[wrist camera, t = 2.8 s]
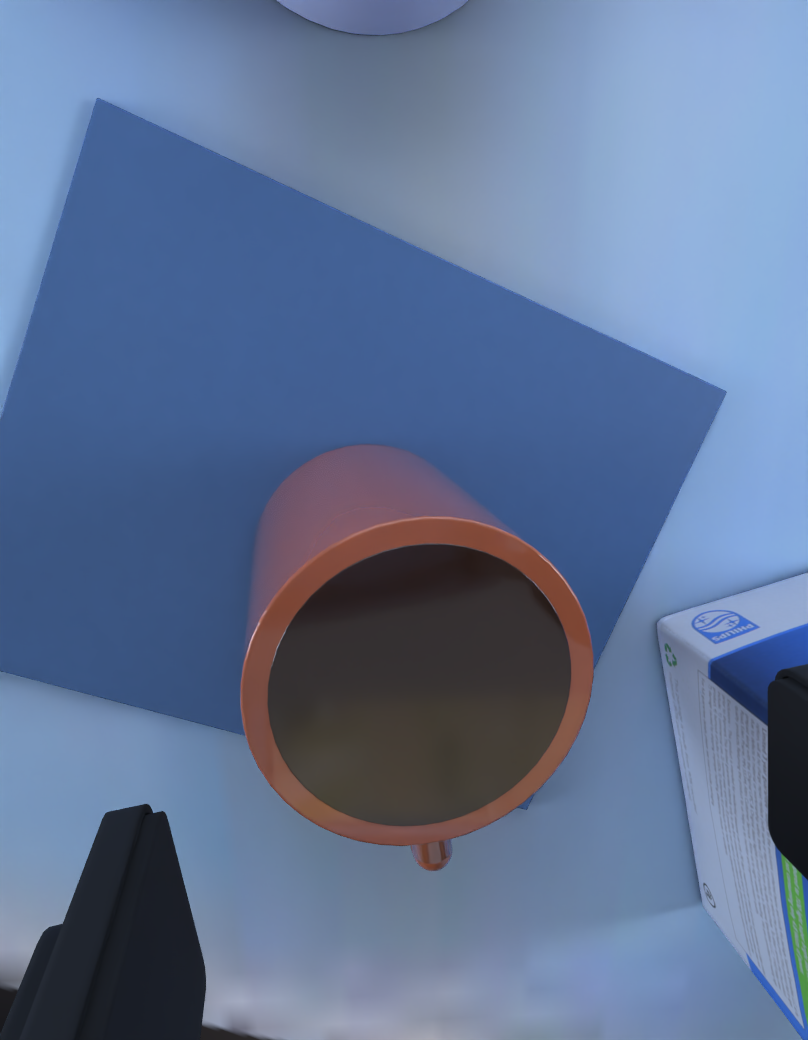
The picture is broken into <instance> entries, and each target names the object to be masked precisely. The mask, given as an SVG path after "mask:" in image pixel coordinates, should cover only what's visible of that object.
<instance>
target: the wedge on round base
mask: <svg viewBox="0 0 808 1040" xmlns="http://www.w3.org/2000/svg"><path fill="white" fill-rule="evenodd" d="M277 1H278V2H279V3H281V4H282V5H283V6H285V7H286V8H288V9H290V10H292V11H293V12H295V13H297V14H299V15H301V16H302V17H304V18H306V19H308V20H310V21H313V22H315V23H318V24H320V25H323V26H326V27H328V28H331V29H335V30H340V31H344V32H348V33H353V34H365V35H387V34H398V33H403V32H407V31H411V30H415V29H419V28H422V27H424V26H427V25H429V24H431V23H434V22H436V21H438V20H441V19H443V18H444V17H446V16H447V15H449V14H451V13H452V12H454V11H455V10H457V9H458V8H460V7H461V6H463V5H464V4H465V3H466V2H467V1H468V0H277Z"/></svg>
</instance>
